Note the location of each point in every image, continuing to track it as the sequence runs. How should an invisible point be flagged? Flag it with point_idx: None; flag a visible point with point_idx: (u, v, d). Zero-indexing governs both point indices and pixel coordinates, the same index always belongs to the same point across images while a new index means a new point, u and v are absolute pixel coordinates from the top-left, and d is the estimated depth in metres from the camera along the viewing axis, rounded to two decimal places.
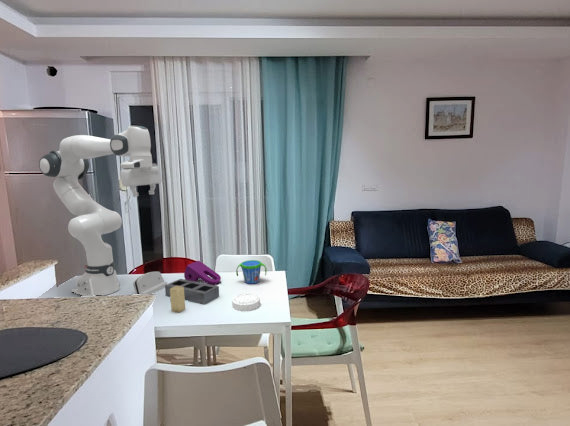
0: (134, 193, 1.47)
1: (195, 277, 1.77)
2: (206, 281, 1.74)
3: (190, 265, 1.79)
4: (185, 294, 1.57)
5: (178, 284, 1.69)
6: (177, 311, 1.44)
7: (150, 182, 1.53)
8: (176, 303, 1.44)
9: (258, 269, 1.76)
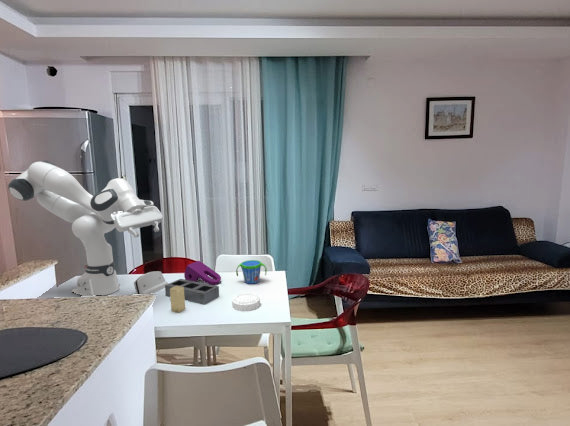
0: None
1: (195, 277, 1.77)
2: (206, 281, 1.74)
3: (190, 265, 1.79)
4: (185, 294, 1.57)
5: (178, 284, 1.69)
6: (177, 311, 1.44)
7: None
8: (176, 303, 1.44)
9: (258, 269, 1.76)
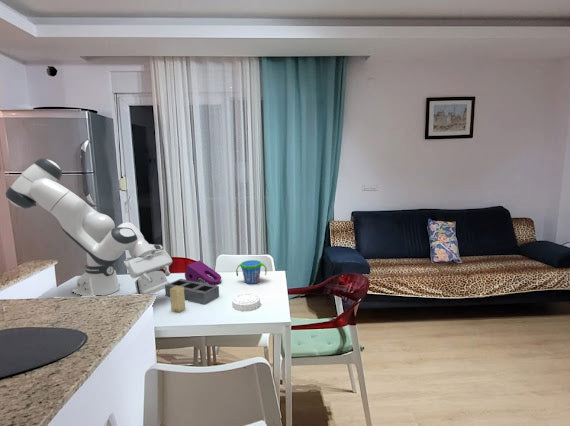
0: None
1: (196, 277, 1.77)
2: (207, 281, 1.74)
3: (191, 265, 1.80)
4: (185, 294, 1.57)
5: (178, 284, 1.69)
6: (177, 311, 1.44)
7: None
8: (176, 303, 1.44)
9: (258, 269, 1.76)
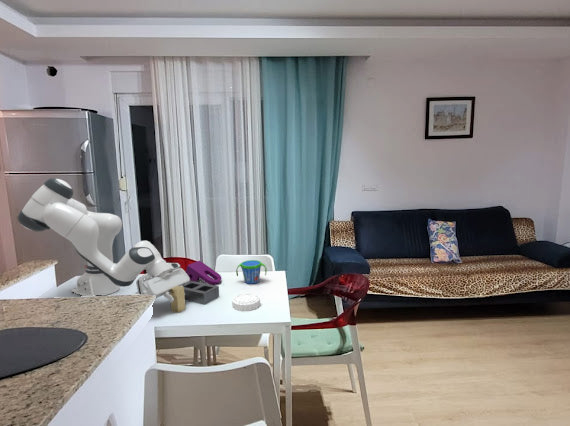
0: None
1: (196, 277, 1.77)
2: (207, 281, 1.74)
3: (191, 265, 1.80)
4: (185, 294, 1.57)
5: None
6: (177, 311, 1.44)
7: None
8: (176, 303, 1.44)
9: (258, 269, 1.76)
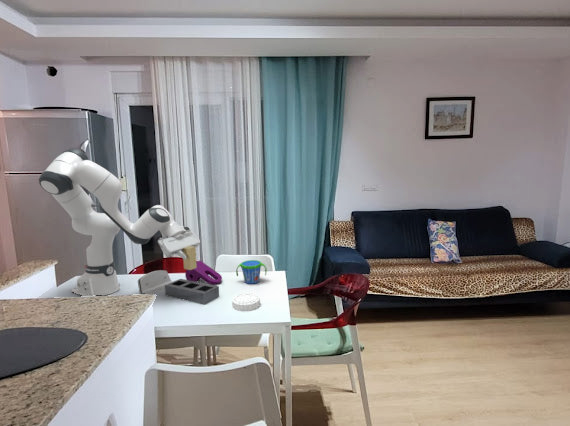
0: None
1: (196, 277, 1.77)
2: (207, 281, 1.74)
3: None
4: (185, 294, 1.57)
5: (178, 284, 1.69)
6: (189, 268, 1.57)
7: None
8: (188, 261, 1.57)
9: (258, 269, 1.76)
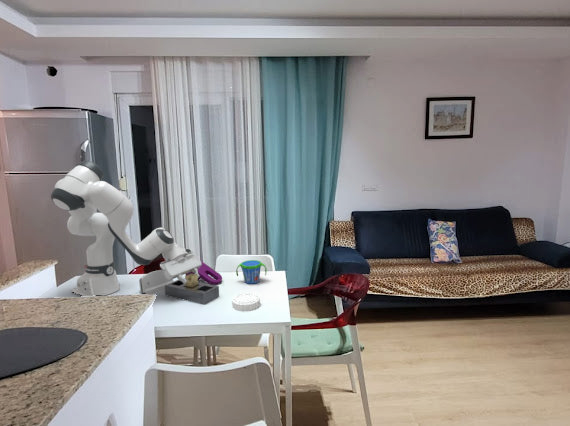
0: None
1: None
2: (208, 281, 1.74)
3: None
4: (185, 294, 1.57)
5: (178, 284, 1.69)
6: None
7: None
8: None
9: (258, 269, 1.76)
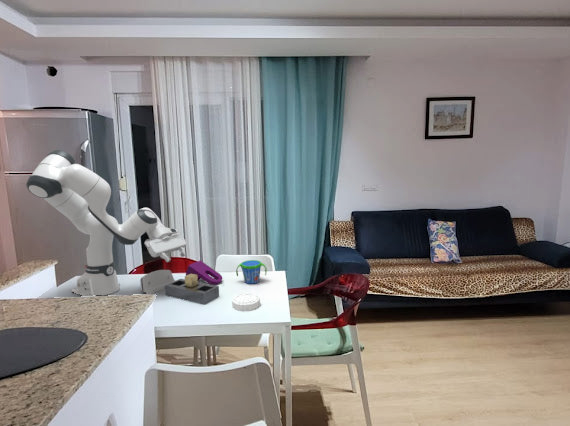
0: None
1: (197, 277, 1.77)
2: (208, 281, 1.74)
3: (192, 265, 1.80)
4: (185, 294, 1.57)
5: (178, 284, 1.69)
6: None
7: None
8: None
9: (258, 269, 1.76)
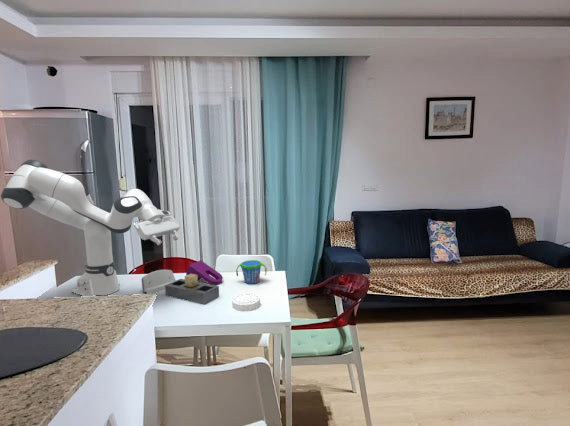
0: None
1: (197, 277, 1.77)
2: (208, 281, 1.75)
3: (192, 265, 1.80)
4: (185, 294, 1.57)
5: (178, 284, 1.69)
6: None
7: None
8: None
9: (258, 269, 1.76)
